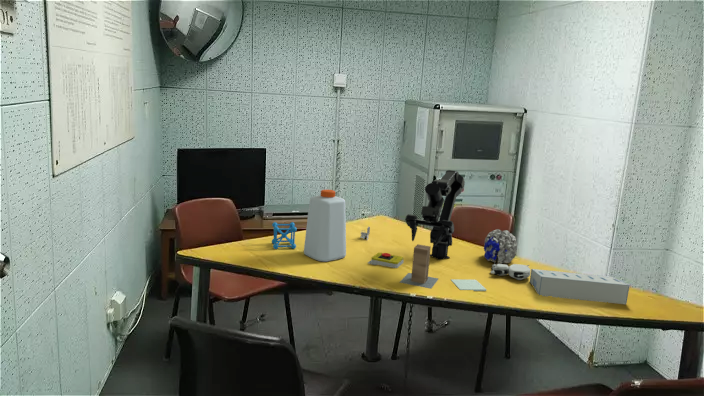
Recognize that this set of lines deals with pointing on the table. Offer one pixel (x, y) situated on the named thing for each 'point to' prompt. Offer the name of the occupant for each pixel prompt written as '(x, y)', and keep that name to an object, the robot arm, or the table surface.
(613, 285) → the warehouse
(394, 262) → the emergency button
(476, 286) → the pad
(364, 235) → the architectural model
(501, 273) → the robot toy
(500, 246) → the educational model
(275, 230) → the molecular structure
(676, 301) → the table surface
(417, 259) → the walnut block
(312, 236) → the plastic bottle
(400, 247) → the table surface
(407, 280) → the gray square plate
